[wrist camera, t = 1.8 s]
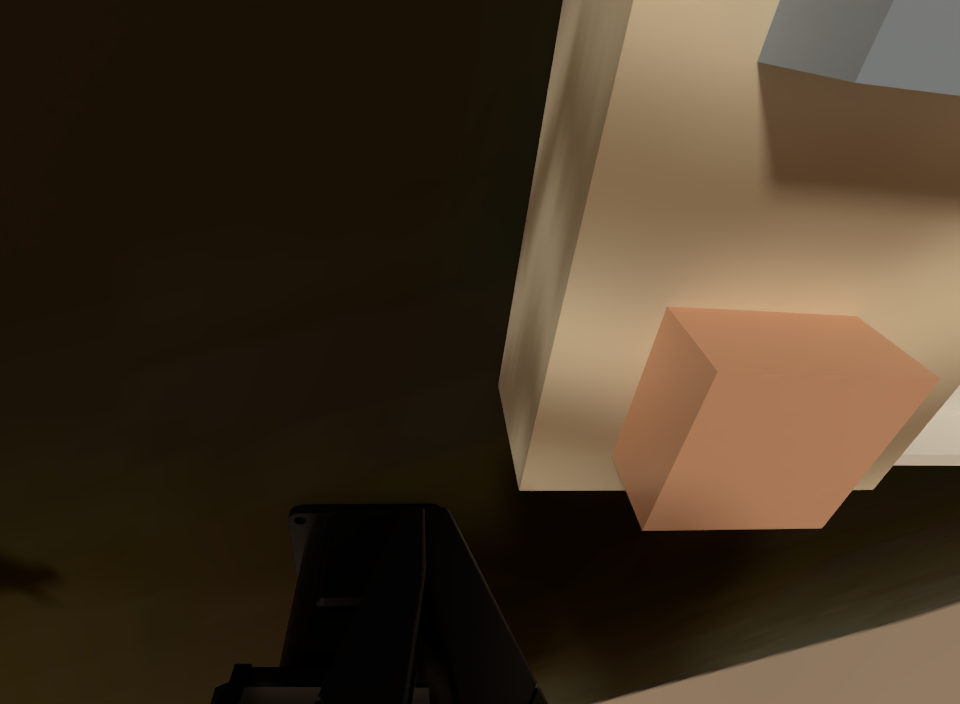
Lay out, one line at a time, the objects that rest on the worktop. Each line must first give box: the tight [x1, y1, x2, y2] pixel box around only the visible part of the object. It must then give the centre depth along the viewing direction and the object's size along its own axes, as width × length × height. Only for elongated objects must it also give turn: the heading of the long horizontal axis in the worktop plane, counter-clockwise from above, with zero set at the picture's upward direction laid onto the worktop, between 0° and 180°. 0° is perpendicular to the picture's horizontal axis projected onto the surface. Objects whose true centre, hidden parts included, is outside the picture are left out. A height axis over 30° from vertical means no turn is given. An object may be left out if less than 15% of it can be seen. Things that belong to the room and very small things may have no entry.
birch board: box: [498, 0, 960, 491], centre depth 13 cm, size 18×12×5 cm, turn 174°
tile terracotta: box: [612, 306, 940, 531], centre depth 13 cm, size 5×5×2 cm
